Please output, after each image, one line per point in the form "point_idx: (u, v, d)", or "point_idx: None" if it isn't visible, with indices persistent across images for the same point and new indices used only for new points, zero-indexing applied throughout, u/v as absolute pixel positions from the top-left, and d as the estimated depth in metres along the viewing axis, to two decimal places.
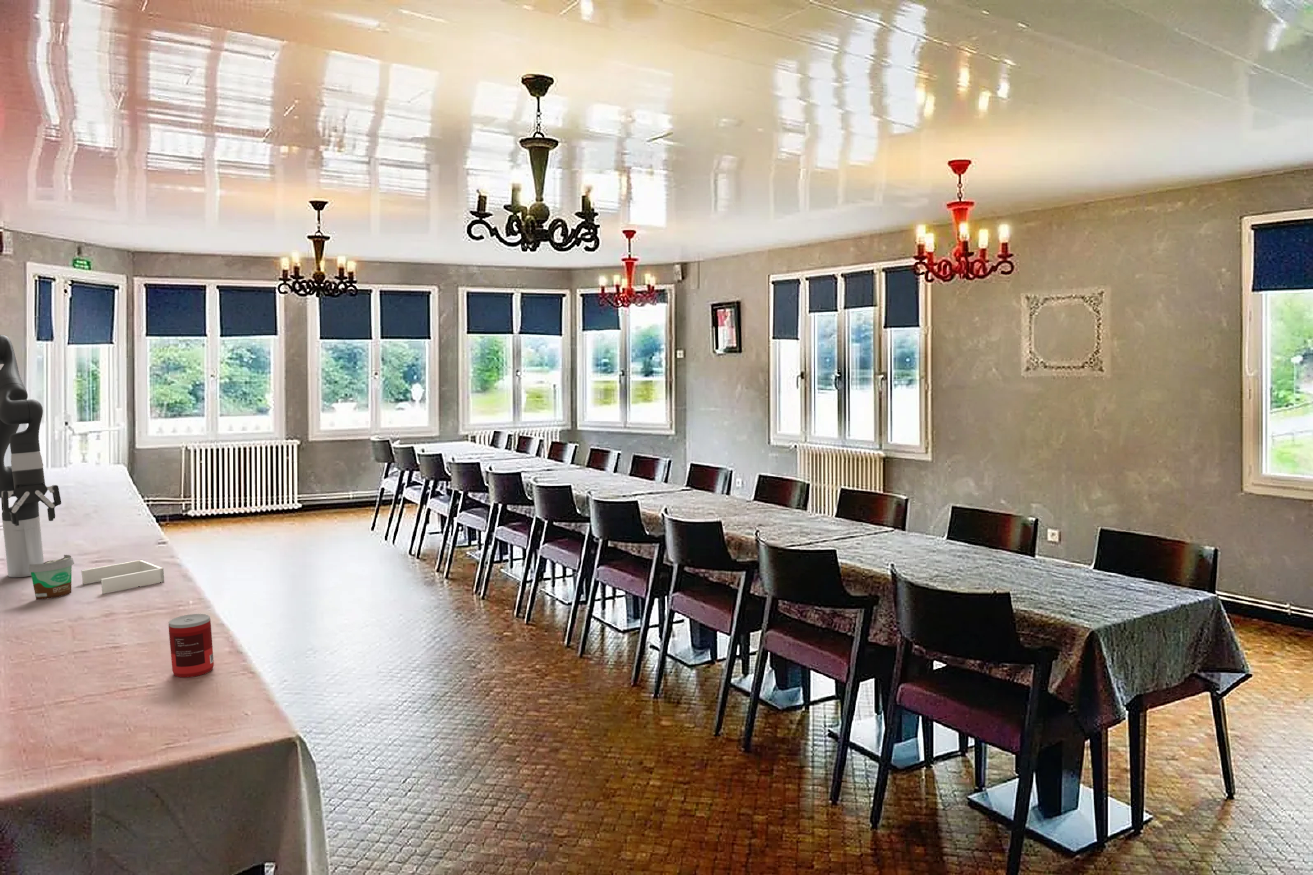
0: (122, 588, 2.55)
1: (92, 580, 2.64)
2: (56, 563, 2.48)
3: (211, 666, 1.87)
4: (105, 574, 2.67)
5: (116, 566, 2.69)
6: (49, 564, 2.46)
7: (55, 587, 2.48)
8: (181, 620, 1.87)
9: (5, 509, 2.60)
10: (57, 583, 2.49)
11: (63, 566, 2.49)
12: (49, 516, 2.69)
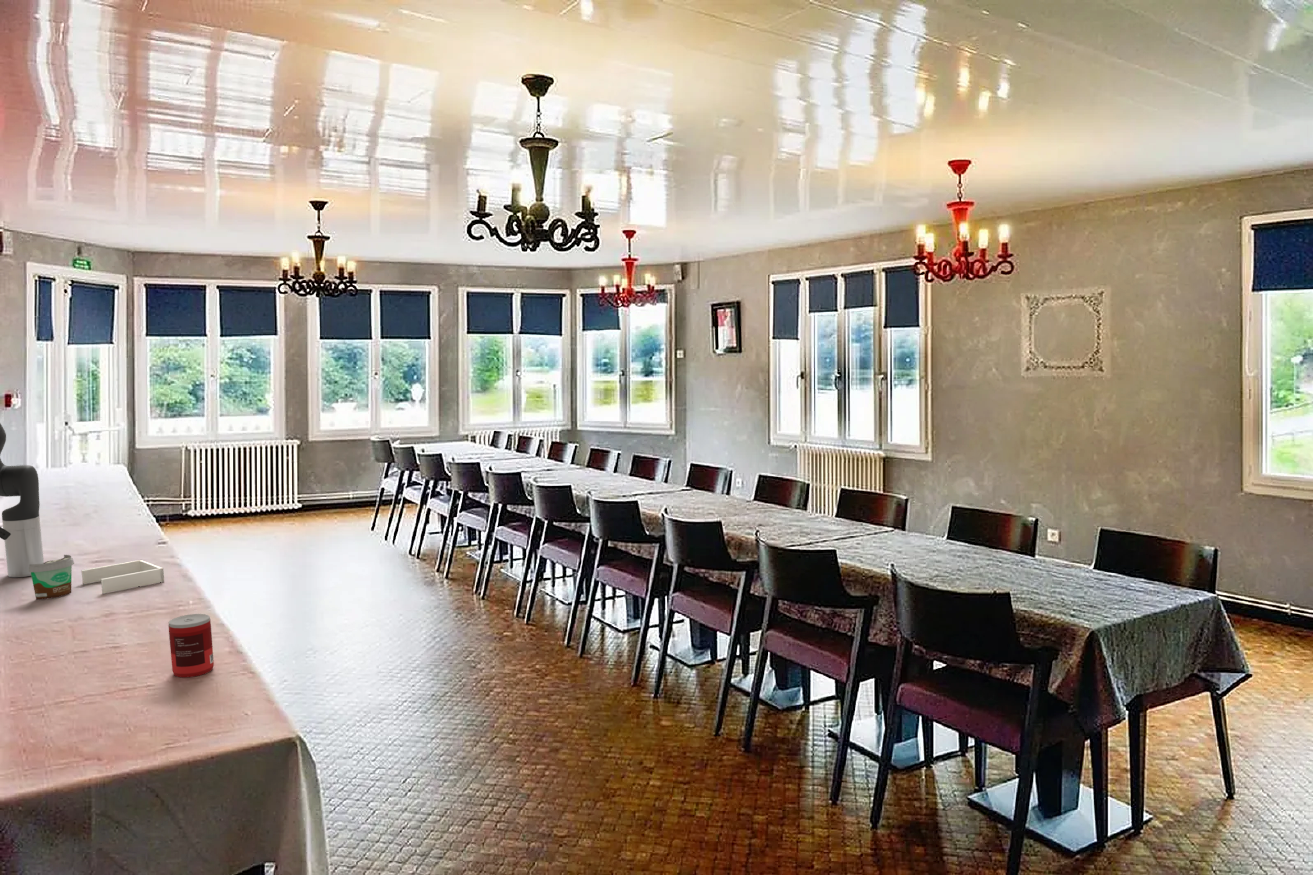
0: (122, 588, 2.55)
1: (92, 580, 2.64)
2: (56, 563, 2.48)
3: (211, 666, 1.87)
4: (105, 574, 2.67)
5: (116, 566, 2.69)
6: (49, 564, 2.46)
7: (55, 587, 2.48)
8: (181, 620, 1.87)
9: None
10: (57, 583, 2.49)
11: (63, 566, 2.49)
12: None
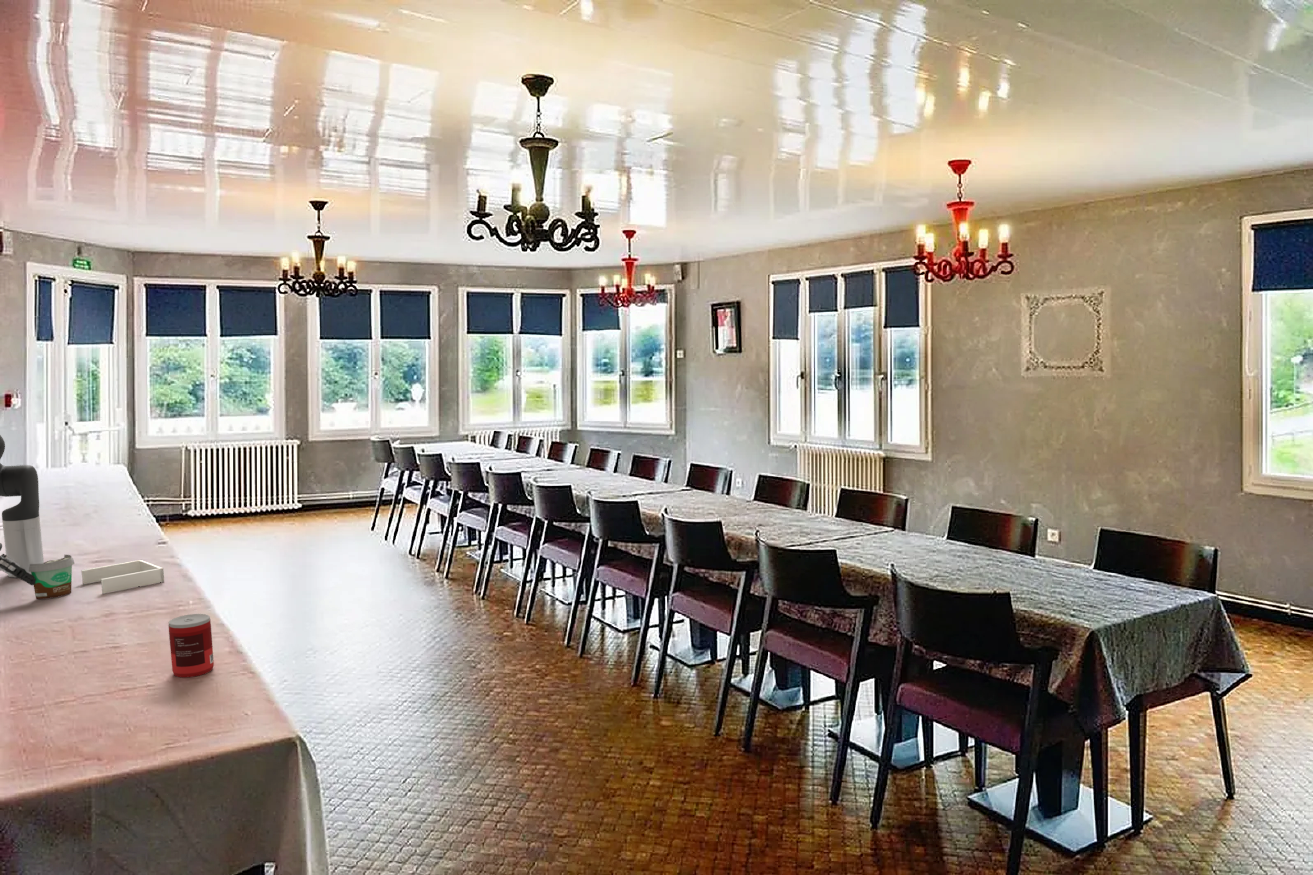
0: (122, 588, 2.55)
1: (92, 580, 2.64)
2: (56, 563, 2.48)
3: (211, 666, 1.87)
4: (105, 574, 2.67)
5: (116, 566, 2.69)
6: (49, 564, 2.46)
7: (55, 587, 2.48)
8: (181, 620, 1.87)
9: None
10: (57, 583, 2.49)
11: (63, 566, 2.49)
12: None
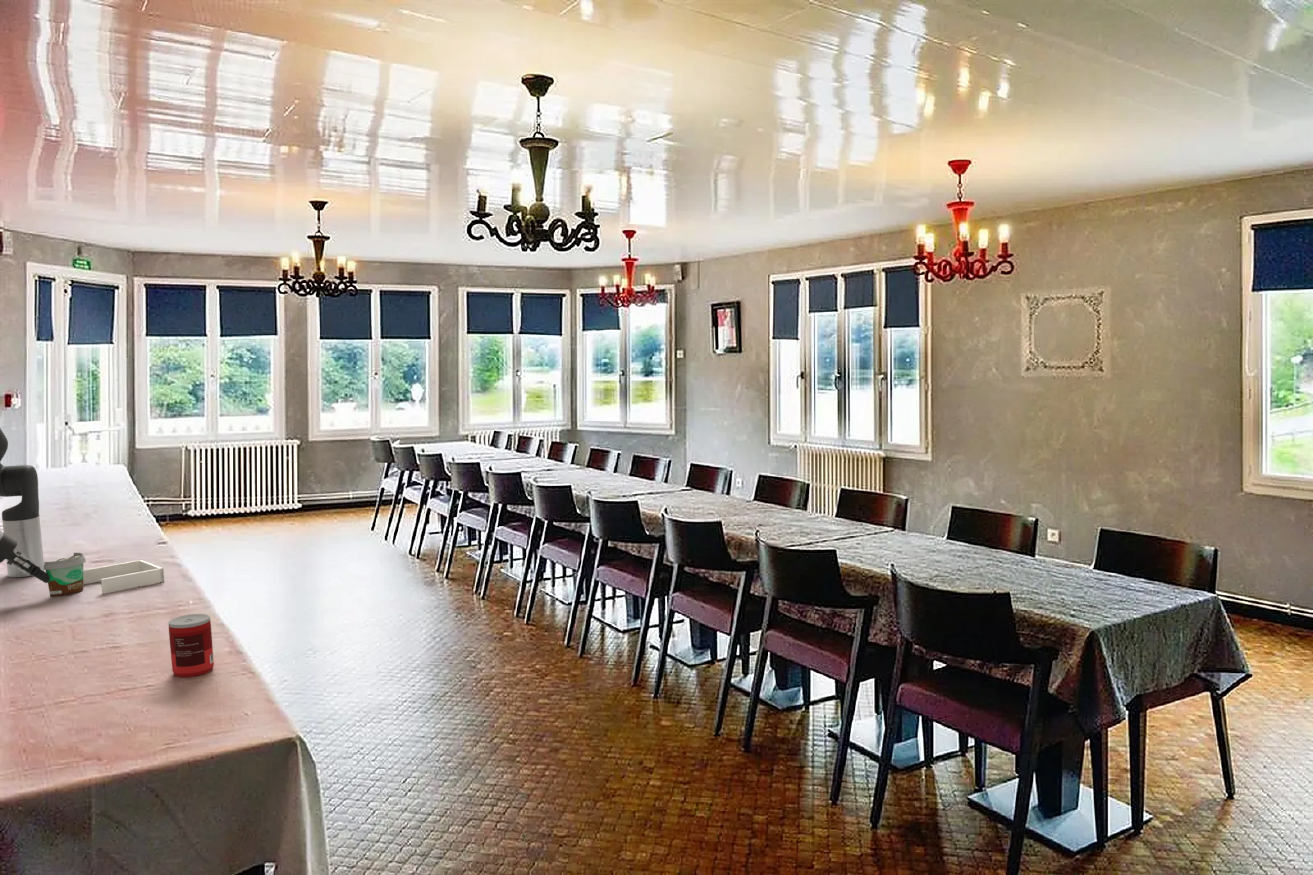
0: (122, 588, 2.55)
1: (92, 580, 2.64)
2: (71, 560, 2.50)
3: (211, 666, 1.87)
4: (105, 574, 2.67)
5: (116, 566, 2.69)
6: (64, 561, 2.49)
7: (70, 584, 2.51)
8: (181, 620, 1.87)
9: None
10: (72, 580, 2.51)
11: (77, 563, 2.52)
12: None
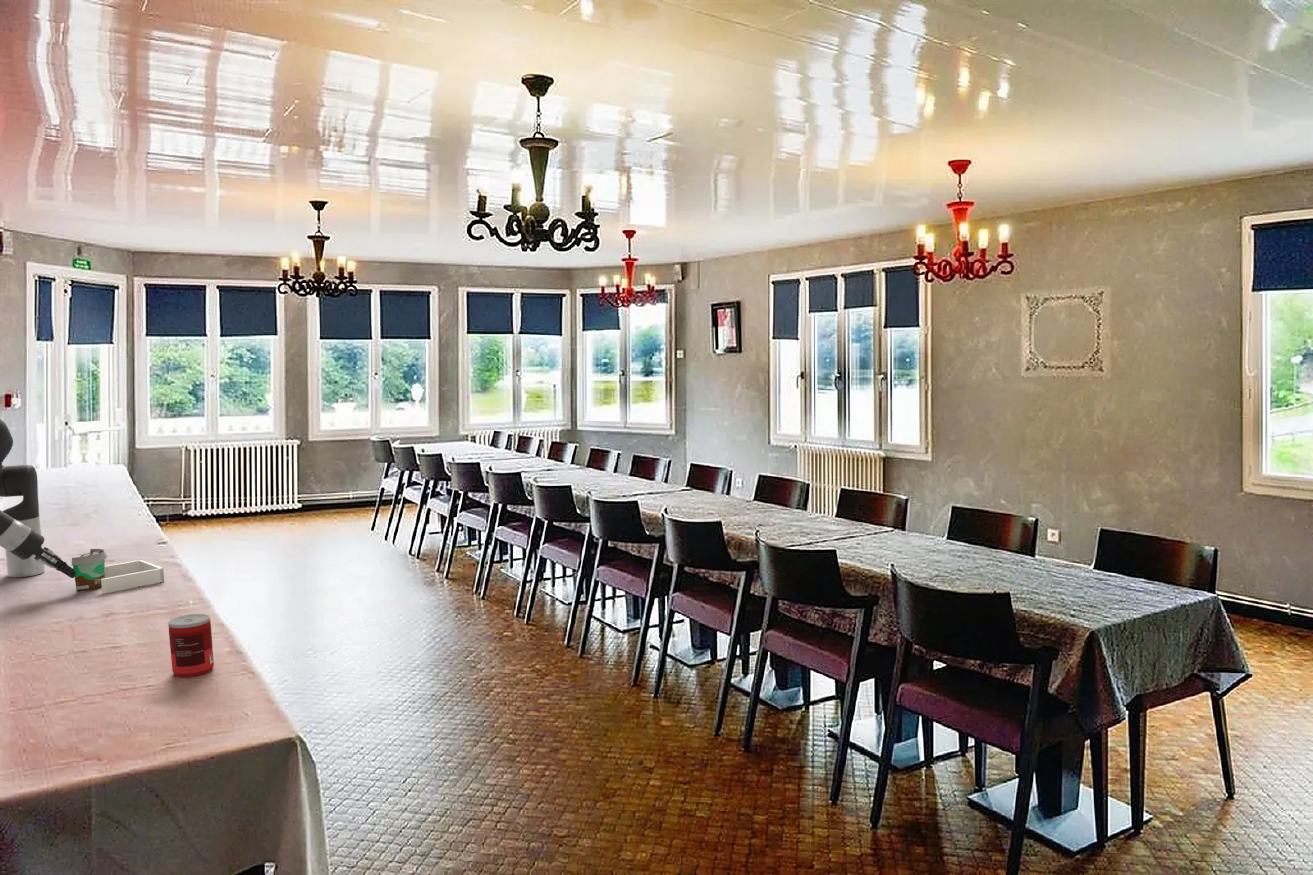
0: (122, 588, 2.55)
1: None
2: (97, 555, 2.56)
3: (211, 666, 1.87)
4: (105, 574, 2.67)
5: (116, 566, 2.69)
6: (92, 556, 2.54)
7: (96, 579, 2.56)
8: (181, 620, 1.87)
9: None
10: (97, 575, 2.57)
11: (103, 558, 2.57)
12: None
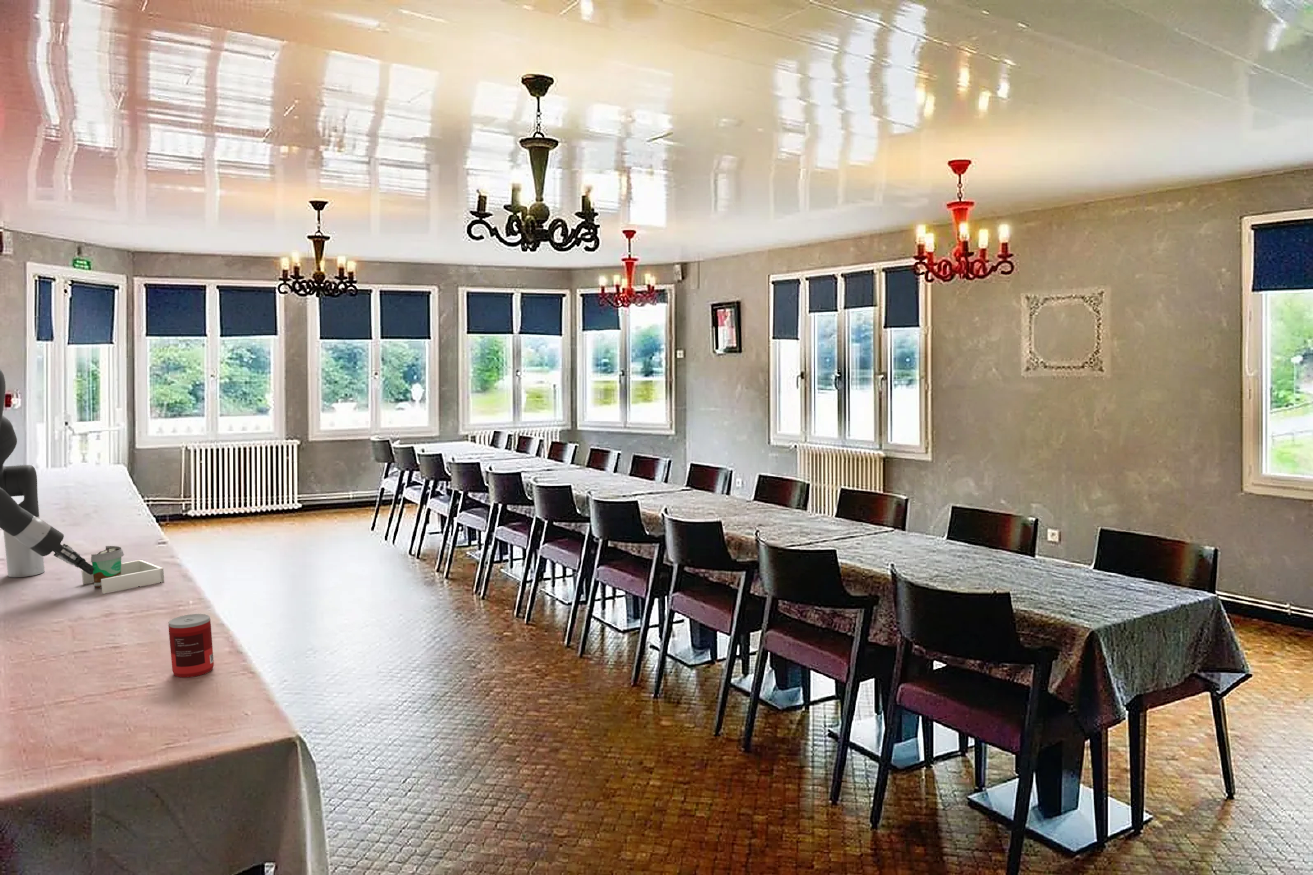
0: (122, 588, 2.55)
1: (92, 580, 2.64)
2: (116, 552, 2.59)
3: (211, 666, 1.87)
4: None
5: None
6: (111, 553, 2.58)
7: (114, 576, 2.60)
8: (181, 620, 1.87)
9: None
10: (115, 572, 2.60)
11: (121, 555, 2.61)
12: None
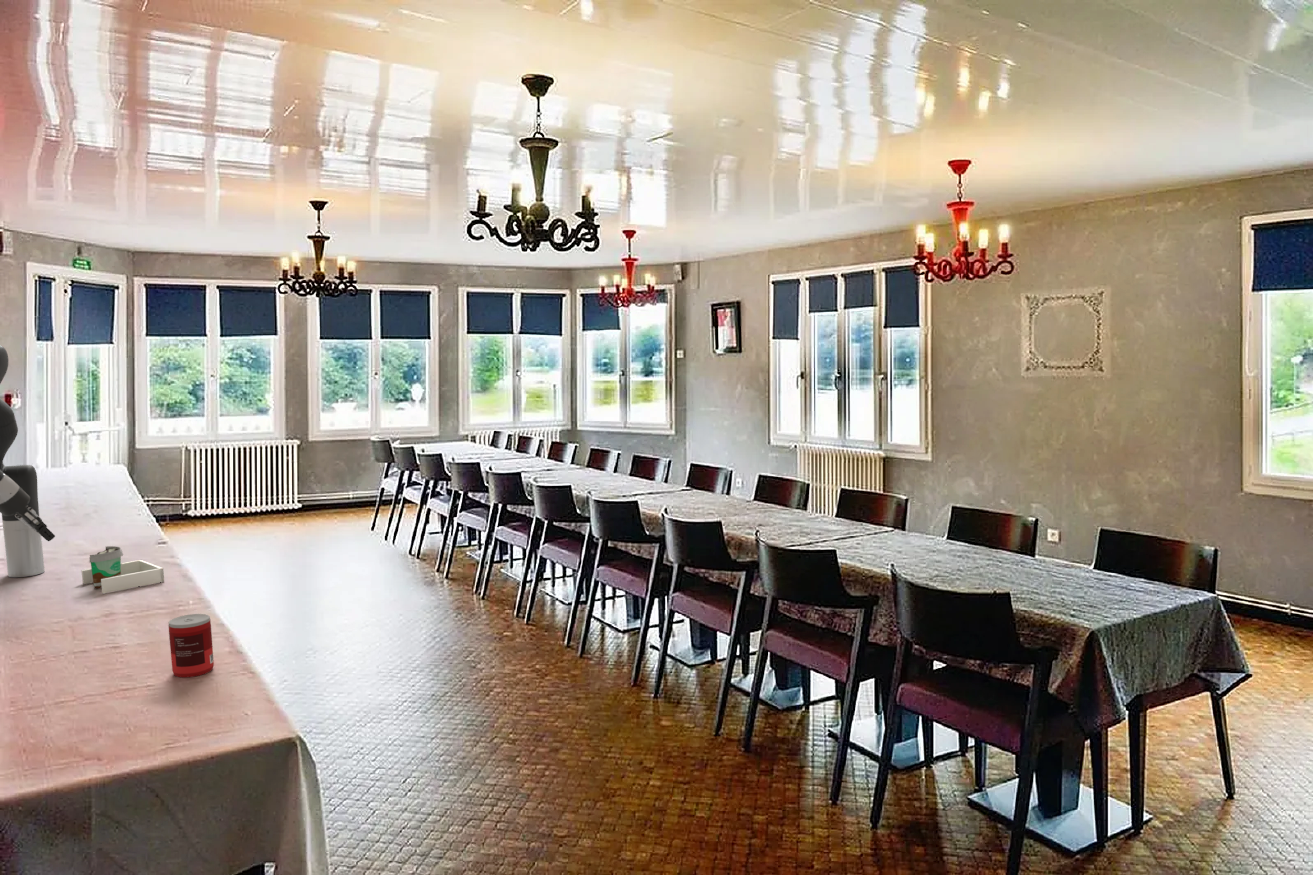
0: (122, 588, 2.55)
1: (92, 580, 2.64)
2: (114, 552, 2.59)
3: (211, 666, 1.87)
4: None
5: None
6: (109, 553, 2.58)
7: (113, 576, 2.60)
8: (181, 620, 1.87)
9: None
10: (114, 572, 2.60)
11: (119, 555, 2.61)
12: None
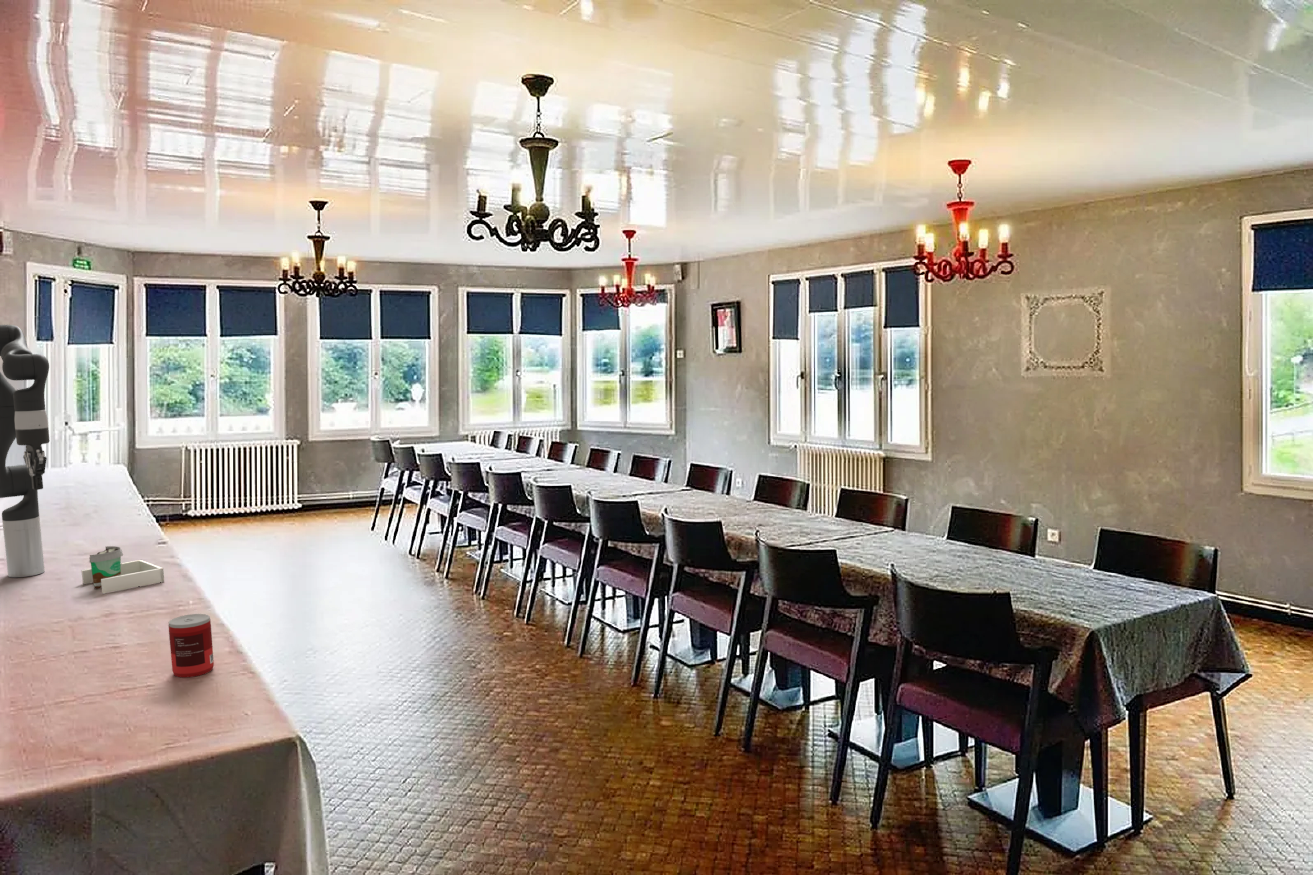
0: (122, 588, 2.55)
1: (92, 580, 2.64)
2: (114, 552, 2.59)
3: (211, 666, 1.87)
4: None
5: None
6: (109, 553, 2.58)
7: (113, 576, 2.60)
8: (181, 620, 1.87)
9: (28, 471, 2.53)
10: (114, 572, 2.60)
11: (119, 555, 2.61)
12: None
